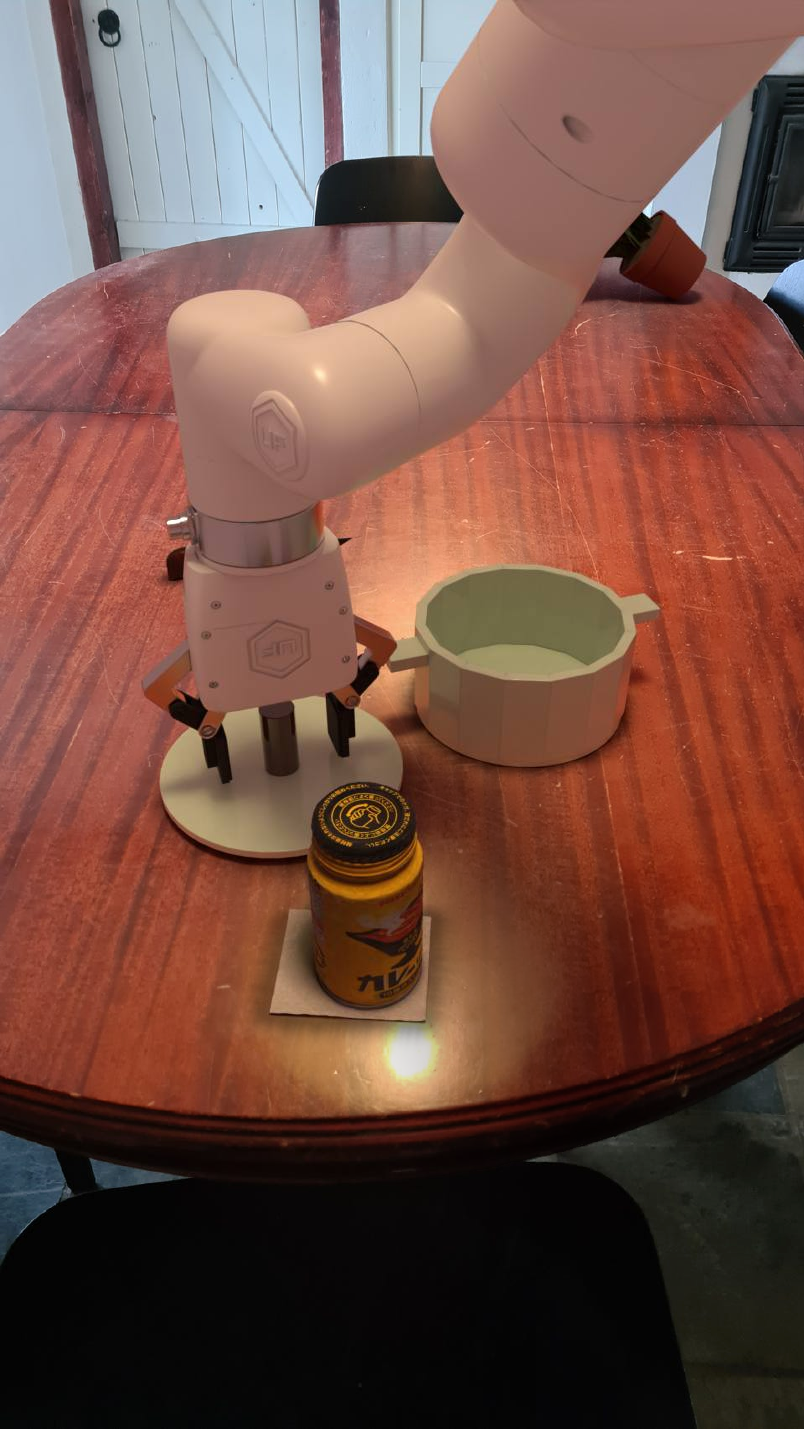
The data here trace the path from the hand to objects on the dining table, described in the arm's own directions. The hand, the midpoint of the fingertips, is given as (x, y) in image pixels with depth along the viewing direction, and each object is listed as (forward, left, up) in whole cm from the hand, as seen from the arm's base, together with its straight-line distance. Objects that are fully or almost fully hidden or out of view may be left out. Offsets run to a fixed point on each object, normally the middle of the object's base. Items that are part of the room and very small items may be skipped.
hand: (281, 756), depth 70 cm
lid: (0, 0, -1) cm, 1 cm away
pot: (+3, -19, -2) cm, 19 cm away
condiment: (-17, 0, -2) cm, 17 cm away
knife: (+29, -5, -2) cm, 30 cm away
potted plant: (+98, -70, -2) cm, 120 cm away
